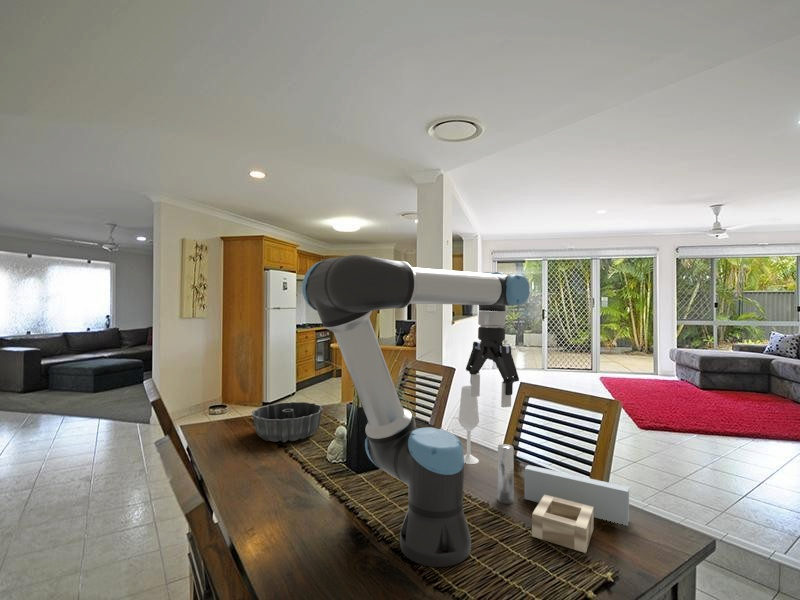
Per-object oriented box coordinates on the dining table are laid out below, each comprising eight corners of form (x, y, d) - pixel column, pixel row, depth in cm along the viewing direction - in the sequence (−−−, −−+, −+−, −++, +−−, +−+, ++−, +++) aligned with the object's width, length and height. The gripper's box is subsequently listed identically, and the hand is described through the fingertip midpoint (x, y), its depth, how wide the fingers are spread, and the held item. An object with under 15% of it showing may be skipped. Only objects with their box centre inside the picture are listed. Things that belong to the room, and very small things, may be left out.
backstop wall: (627, 526, 96) (628, 491, 96) (524, 498, 109) (524, 468, 109) (628, 520, 98) (629, 487, 98) (527, 494, 111) (527, 464, 111)
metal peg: (510, 505, 105) (510, 450, 105) (495, 501, 108) (495, 447, 108) (515, 499, 109) (515, 446, 109) (500, 495, 111) (500, 443, 111)
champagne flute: (478, 456, 138) (478, 385, 138) (479, 464, 132) (480, 389, 132) (457, 455, 139) (458, 384, 139) (458, 463, 132) (459, 388, 132)
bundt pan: (235, 443, 150) (235, 415, 150) (277, 422, 175) (277, 399, 175) (299, 451, 142) (300, 422, 142) (333, 428, 167) (334, 404, 167)
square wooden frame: (585, 553, 85) (586, 528, 85) (532, 536, 91) (532, 513, 91) (593, 528, 94) (593, 506, 94) (544, 514, 100) (544, 494, 100)
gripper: (533, 329, 108) (532, 410, 108) (475, 324, 130) (473, 391, 130) (511, 329, 105) (509, 413, 104) (455, 324, 127) (453, 393, 126)
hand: (489, 401), depth 117 cm, fingers open, 13 cm apart
